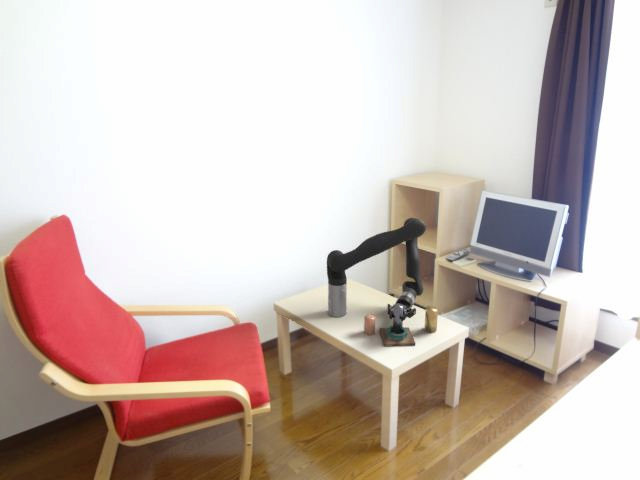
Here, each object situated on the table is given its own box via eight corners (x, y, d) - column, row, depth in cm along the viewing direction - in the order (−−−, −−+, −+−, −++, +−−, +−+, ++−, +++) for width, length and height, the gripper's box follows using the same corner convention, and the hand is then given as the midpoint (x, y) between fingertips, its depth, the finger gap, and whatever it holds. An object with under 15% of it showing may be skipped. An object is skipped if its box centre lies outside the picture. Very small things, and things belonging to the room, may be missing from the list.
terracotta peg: (364, 335, 209) (365, 319, 206) (363, 329, 214) (363, 314, 211) (375, 334, 209) (375, 319, 206) (373, 329, 214) (374, 314, 211)
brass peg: (426, 332, 210) (427, 311, 207) (423, 327, 215) (424, 306, 212) (437, 332, 210) (439, 311, 207) (434, 326, 215) (436, 305, 212)
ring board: (384, 346, 199) (384, 338, 198) (379, 330, 213) (379, 323, 212) (415, 345, 200) (415, 338, 199) (408, 329, 213) (408, 322, 212)
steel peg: (393, 331, 203) (394, 308, 199) (391, 327, 207) (392, 303, 203) (403, 331, 203) (404, 307, 199) (401, 326, 207) (402, 303, 203)
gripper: (390, 292, 217) (381, 308, 202) (420, 297, 211) (412, 313, 196) (390, 306, 219) (380, 323, 204) (419, 311, 214) (412, 328, 199)
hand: (396, 318), depth 200 cm, fingers closed on steel peg, 4 cm apart
